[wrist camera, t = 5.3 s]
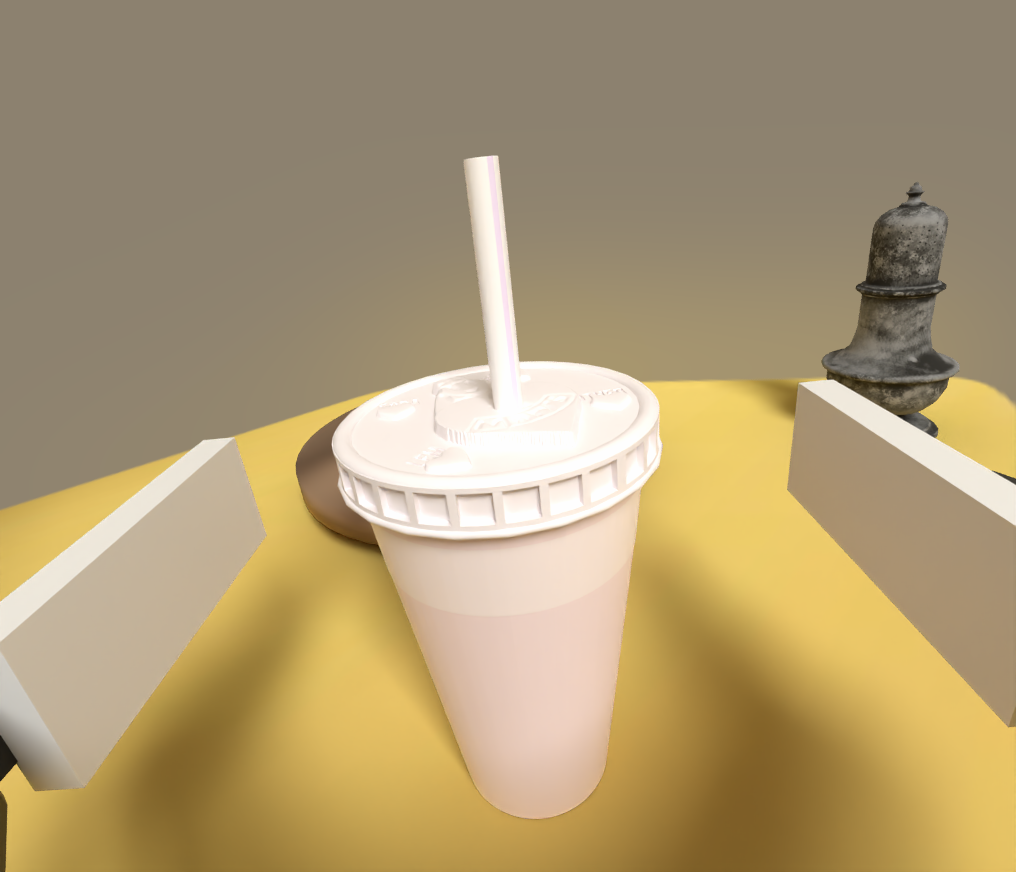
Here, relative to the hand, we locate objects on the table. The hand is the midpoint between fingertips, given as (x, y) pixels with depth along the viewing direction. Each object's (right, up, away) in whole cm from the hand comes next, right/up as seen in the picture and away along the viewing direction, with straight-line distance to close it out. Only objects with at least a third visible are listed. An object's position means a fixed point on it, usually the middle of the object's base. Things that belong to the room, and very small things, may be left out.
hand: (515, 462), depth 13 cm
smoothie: (+1, -8, +2) cm, 8 cm away
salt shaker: (+20, +1, +17) cm, 26 cm away
